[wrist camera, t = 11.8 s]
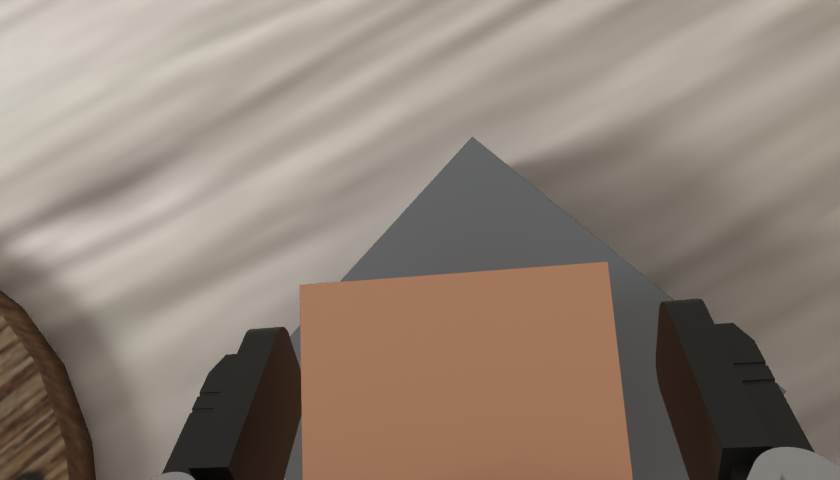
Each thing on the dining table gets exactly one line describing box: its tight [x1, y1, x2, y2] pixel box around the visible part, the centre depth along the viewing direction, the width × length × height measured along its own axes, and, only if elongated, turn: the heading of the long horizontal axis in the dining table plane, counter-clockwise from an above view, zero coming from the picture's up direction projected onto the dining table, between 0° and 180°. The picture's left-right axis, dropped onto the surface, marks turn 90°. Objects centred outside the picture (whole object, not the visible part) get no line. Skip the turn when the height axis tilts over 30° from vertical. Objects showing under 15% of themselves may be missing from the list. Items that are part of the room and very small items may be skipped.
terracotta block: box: [300, 262, 633, 480], centre depth 15 cm, size 5×5×10 cm
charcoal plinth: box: [284, 137, 786, 480], centre depth 22 cm, size 12×12×4 cm
